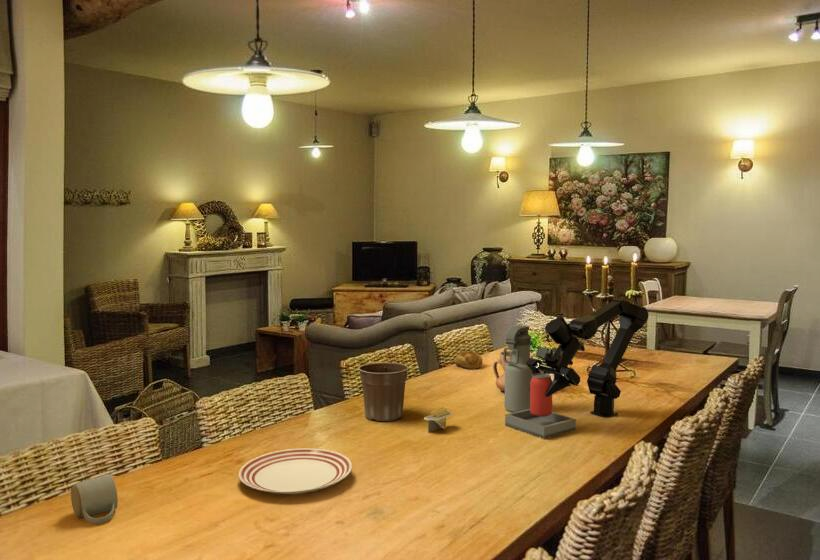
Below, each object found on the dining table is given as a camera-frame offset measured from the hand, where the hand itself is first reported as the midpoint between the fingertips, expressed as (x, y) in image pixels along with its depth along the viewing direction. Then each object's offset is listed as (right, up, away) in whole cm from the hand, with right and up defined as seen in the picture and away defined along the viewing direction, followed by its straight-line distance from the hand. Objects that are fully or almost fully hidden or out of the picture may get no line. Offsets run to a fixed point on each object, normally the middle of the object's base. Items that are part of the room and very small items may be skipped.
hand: (538, 393), depth 208 cm
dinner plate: (-67, -15, -39) cm, 79 cm away
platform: (-30, -12, 0) cm, 32 cm away
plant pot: (-47, -10, +13) cm, 50 cm away
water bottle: (-3, -9, +21) cm, 23 cm away
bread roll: (-14, -3, +86) cm, 87 cm away
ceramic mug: (-106, -17, -60) cm, 123 cm away
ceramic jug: (0, -7, +45) cm, 46 cm away
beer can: (+1, -7, +1) cm, 7 cm away
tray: (+1, -11, +2) cm, 11 cm away
